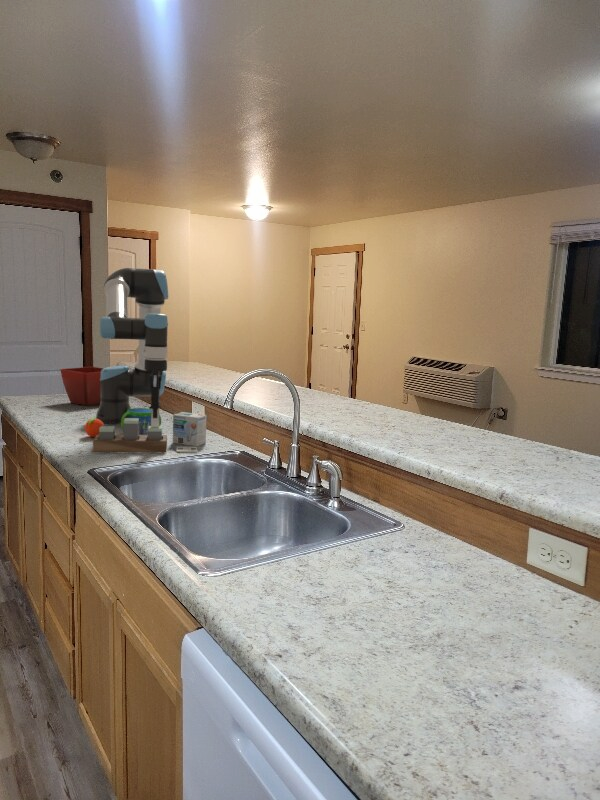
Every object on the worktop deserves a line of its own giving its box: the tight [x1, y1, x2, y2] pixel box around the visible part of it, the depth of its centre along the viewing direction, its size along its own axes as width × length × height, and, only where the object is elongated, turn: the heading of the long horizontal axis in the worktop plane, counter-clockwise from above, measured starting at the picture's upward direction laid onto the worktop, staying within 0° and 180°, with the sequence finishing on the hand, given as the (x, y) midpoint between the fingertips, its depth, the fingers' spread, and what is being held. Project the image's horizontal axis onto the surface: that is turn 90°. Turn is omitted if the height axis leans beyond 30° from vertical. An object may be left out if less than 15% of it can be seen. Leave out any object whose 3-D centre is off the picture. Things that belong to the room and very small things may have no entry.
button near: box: [99, 425, 116, 439], centre depth 206 cm, size 5×5×7 cm
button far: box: [148, 425, 163, 440], centre depth 209 cm, size 5×5×7 cm
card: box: [176, 446, 198, 454], centre depth 210 cm, size 6×7×1 cm
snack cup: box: [120, 407, 162, 435], centre depth 228 cm, size 16×10×10 cm
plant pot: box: [60, 366, 104, 406], centre depth 294 cm, size 19×19×17 cm
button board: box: [92, 434, 168, 453], centre depth 208 cm, size 10×24×4 cm, turn 101°
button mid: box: [123, 418, 139, 440], centre depth 207 cm, size 5×5×7 cm
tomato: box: [84, 417, 105, 438], centre depth 223 cm, size 8×7×7 cm
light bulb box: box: [172, 411, 208, 447], centre depth 221 cm, size 11×7×11 cm, turn 70°
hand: (155, 426), depth 208 cm, fingers closed
